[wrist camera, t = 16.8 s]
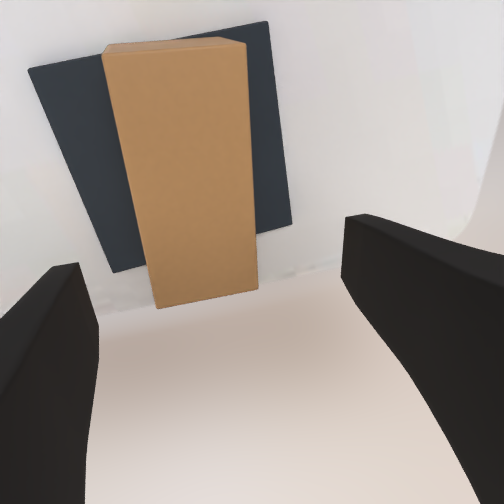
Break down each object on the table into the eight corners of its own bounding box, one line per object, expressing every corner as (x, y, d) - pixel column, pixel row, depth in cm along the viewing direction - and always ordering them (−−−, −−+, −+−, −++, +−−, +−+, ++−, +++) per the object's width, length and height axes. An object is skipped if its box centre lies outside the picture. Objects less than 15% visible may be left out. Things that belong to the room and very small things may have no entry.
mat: (113, 268, 22) (113, 273, 21) (29, 68, 16) (26, 69, 16) (289, 220, 23) (292, 224, 23) (265, 20, 18) (268, 20, 17)
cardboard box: (236, 242, 22) (259, 289, 18) (151, 257, 21) (156, 310, 18) (220, 36, 17) (246, 42, 13) (106, 44, 16) (100, 53, 12)
